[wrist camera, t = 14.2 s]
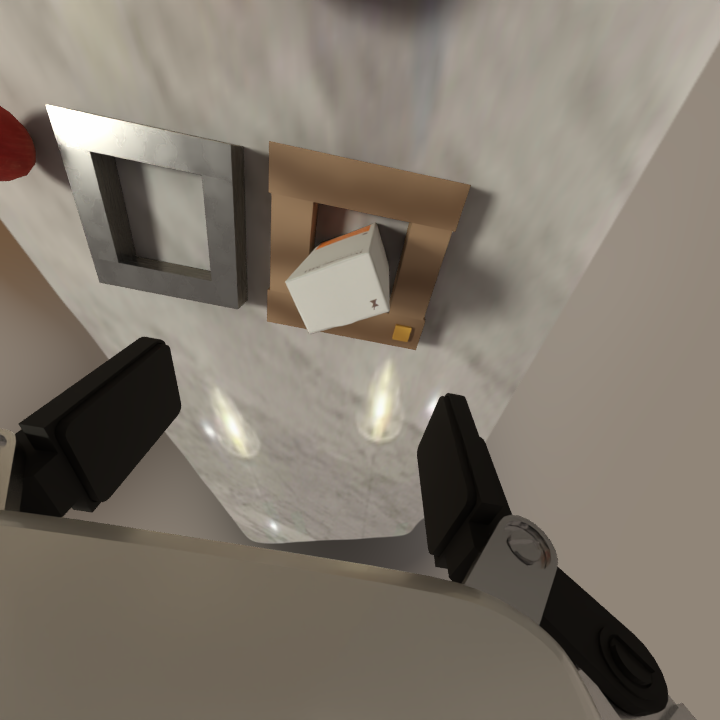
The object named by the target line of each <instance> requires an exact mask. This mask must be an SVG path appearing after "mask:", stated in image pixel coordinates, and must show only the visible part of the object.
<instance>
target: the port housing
mask: <svg viewBox="0 0 720 720" xmlns="http://www.w3.org/2000/svg"><path fill="white" fill-rule="evenodd" d="M470 186H471V185H468V184H463V183H459V182H454V181H449V180H445V179H440V178H436V177H431V176H426V175H422V174H417V173H413V172H408V171H404V170H399V169H394V168H390V167H385V166H381V165H376V164H372V163H367V162H362V161H358V160H353V159H349V158H344V157H340V156H335V155H330V154H326V153H321V152H317V151H312V150H307V149H303V148H298V147H294V146H289V145H285V144H280V143H275V142H271V141H269V193H272V199H271V260H270V288H269V289H268V290H267V321H268V322H273V323H278V324H283V325H288V326H294V327H299V328H304V329H307V328H306V326H305V324H304V322H303V320H302V318H301V315H300V313H299V311H298V309H297V307H296V305H295V302H294V300H293V298H292V296H291V294H290V292H289V289H288V287H287V285H286V283H285V281H286V280H287V279H288V278H289V277H290V276H291V275H292V273H293V272H294V271H295V270H296V269H297V268H298V267H299V266H300V265H301V263H302V262H303V261H304V260H305V259H306V258H307V257H308V256H309V255H310V254H311V252H312V251H313V250H314V244H315V234H316V223H317V212H318V203H321V204H325V205H330V206H335V207H340V208H344V209H349V210H354V211H359V212H363V213H368V214H373V215H377V216H382V217H387V218H392V219H396V220H401V221H406V222H409V225H408V229H407V233H406V237H405V241H404V245H403V249H402V253H401V257H400V261H399V265H398V269H397V273H396V277H395V281H394V285H393V289H392V293H391V297H390V301H389V305H390V311H389V312H386V313H383V314H380V315H376V316H373V317H369V318H366V319H363V320H359V321H356V322H354V323H352V324H348V325H344V326H338V327H334V328H331V329H327V330H324V331H320V332H325V333H330V334H335V335H340V336H346V337H351V338H356V339H361V340H366V341H372V342H377V343H382V344H387V345H392V346H398V347H403V348H408V349H413V350H416V348H417V345H418V342H419V339H420V336H421V333H422V330H423V327H424V324H425V317H424V316H425V313H426V310H427V307H428V304H429V301H430V298H431V295H432V292H433V289H434V286H435V283H436V279H437V276H438V273H439V270H440V267H441V264H442V261H443V258H444V255H445V252H446V249H447V246H448V243H449V240H450V237H451V234H452V231H453V232H455V231H456V228H457V225H458V222H459V219H460V216H461V213H462V210H463V207H464V204H465V201H466V198H467V195H468V192H469V189H470Z"/></svg>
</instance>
